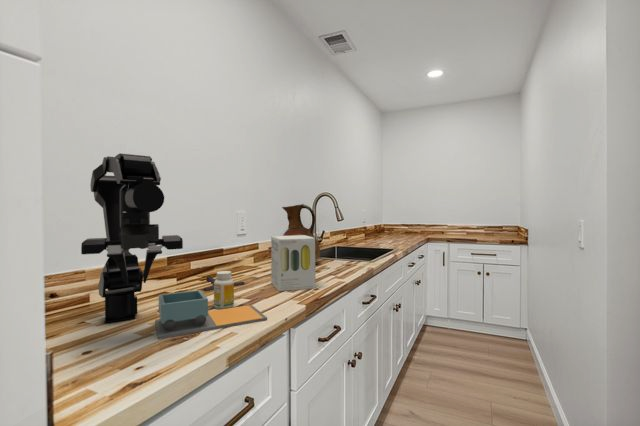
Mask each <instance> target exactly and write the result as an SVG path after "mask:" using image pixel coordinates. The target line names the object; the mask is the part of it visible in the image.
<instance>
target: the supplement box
mask: <svg viewBox="0 0 640 426" xmlns="http://www.w3.org/2000/svg"><path fill="white" fill-rule="evenodd" d="M270 238H271V239H270V240H271V243H270V244H271V245H270V250H271V256H270V257H271V261H270V263H271V266H270V267H271V268H270V269H271V270H270V271H271V273H270V274H271V277H270V278H271V279H270V281H271V284H272V285H273V287H274V288H275V289H276V290H277V291H278V292H283V291H285V292H286V291H287V292H288V291H297V290H306V289H307V290H311V289H316V261H315V238H316V237H315V238H314V237H310V236H306V235H296V236H283V235H272V236H270Z"/></svg>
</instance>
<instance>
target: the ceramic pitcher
mask: <svg viewBox="0 0 640 426" xmlns="http://www.w3.org/2000/svg"><path fill="white" fill-rule="evenodd" d="M281 208H282V209H283V210H284V211H285V213H286V216H287V221H288V228H287V230H286V231H285V232H284V233H283V235H282V236H296V235H306V236H310V237H314V238H315V262H316V261H318V260H319V259H320V258H321V249H320V245H319V242H318V240H317V238H316V237H315V235H314V228H315V223H316V215H315V213H314V210H313V209H312V208H311V207H310V206H309V205H307V204H305V203H302V204H297V205H290V206H282V207H281ZM303 209H306V210H308V211H309V212H310V214H311V217H312V219H311V220H312V221H311V225H310V227H309V228H308V227H305V226H304V225H303V223H302V220H301V219H302V218H301V213H302V212H301V211H302V210H303Z"/></svg>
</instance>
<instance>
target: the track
mask: <svg viewBox="0 0 640 426" xmlns="http://www.w3.org/2000/svg"><path fill="white" fill-rule="evenodd" d="M267 320H268V317H267V316H266V315H265V314H264V313H262V312H261V311H260V310H258V308H256V307H255V306H254V305H252V304H251V305H243V306H236V307H234V306H233V307H230V308H225V309H215V310H208V316H207V317H206V322H205V323H204V324H203V325H197V324H196V323H195V321H194V319H188V320H181V321H175V323H176V325H175V327H174V329H172V330H170V331H167V330H165V329H164V327H163V323H162V324H161V320H160V318H157V319H155V321H154V323H155V328H156V334H157V335H156V336H157V340H161V339H166V338H173V337H179V336H184V335H188V334H189V335H190V334H195V333H202V332H207V331H213V330H218V329H223V328H230V327H235V326H241V325H248V324H252V323H257V322H264V321H267Z"/></svg>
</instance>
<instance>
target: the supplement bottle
mask: <svg viewBox="0 0 640 426" xmlns="http://www.w3.org/2000/svg"><path fill="white" fill-rule="evenodd" d="M216 278H217V279H214V280H215V282H214V290H213V307H214V308H215V309H217V310H221V309H227V308H233V307H234V305H235V286H234V283H235V281H234V279H233V278H232V271H231V270H221V271H217V272H216Z"/></svg>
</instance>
